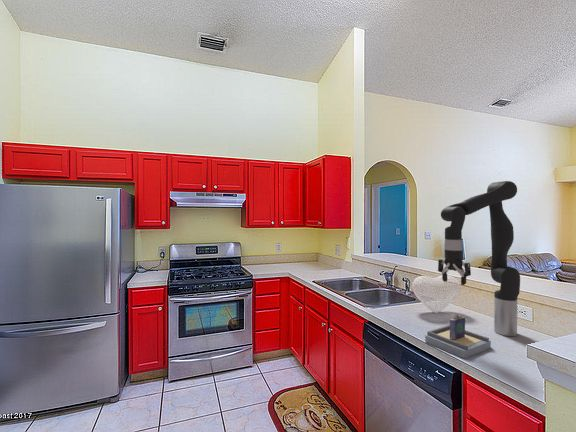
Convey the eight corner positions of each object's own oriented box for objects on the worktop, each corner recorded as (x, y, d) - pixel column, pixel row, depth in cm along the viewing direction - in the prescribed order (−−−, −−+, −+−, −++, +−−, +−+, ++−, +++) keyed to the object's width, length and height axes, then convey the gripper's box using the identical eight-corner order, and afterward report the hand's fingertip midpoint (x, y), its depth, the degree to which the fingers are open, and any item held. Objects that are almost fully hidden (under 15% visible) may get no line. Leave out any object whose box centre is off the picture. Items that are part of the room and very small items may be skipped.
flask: (453, 340, 131) (453, 316, 131) (447, 338, 133) (447, 314, 133) (466, 337, 135) (466, 313, 135) (460, 334, 137) (460, 311, 137)
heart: (421, 318, 168) (422, 279, 168) (407, 309, 183) (407, 273, 183) (466, 315, 172) (466, 277, 172) (448, 307, 187) (448, 272, 187)
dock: (451, 333, 147) (451, 324, 147) (490, 347, 131) (490, 337, 131) (425, 341, 137) (425, 332, 137) (464, 358, 121) (464, 347, 121)
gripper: (473, 249, 136) (474, 284, 136) (443, 247, 148) (444, 279, 148) (464, 250, 132) (465, 287, 132) (434, 248, 144) (435, 281, 144)
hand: (454, 283), depth 140 cm, fingers open, 8 cm apart
